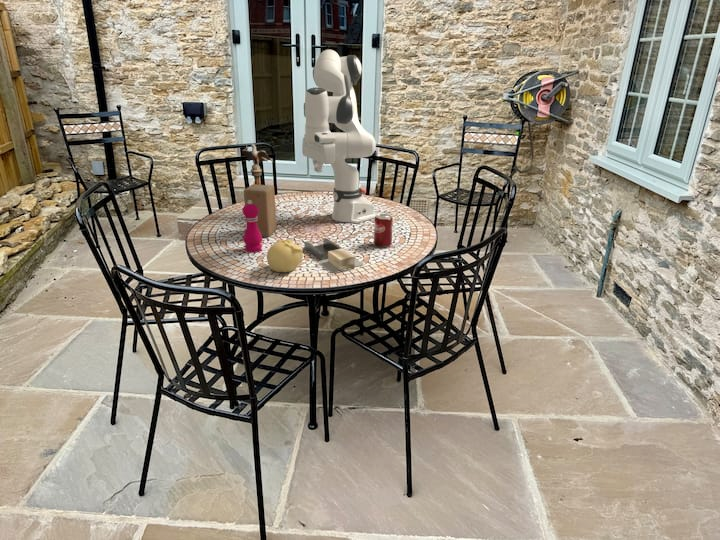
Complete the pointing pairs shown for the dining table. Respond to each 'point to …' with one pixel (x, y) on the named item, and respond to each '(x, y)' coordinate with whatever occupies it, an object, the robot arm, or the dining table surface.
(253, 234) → the pepper mill
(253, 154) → the bird statue
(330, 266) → the slate mat
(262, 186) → the wooden block
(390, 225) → the soda can
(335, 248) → the metal chute
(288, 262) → the sculpture
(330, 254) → the birch block
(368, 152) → the robot arm
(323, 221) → the dining table surface
